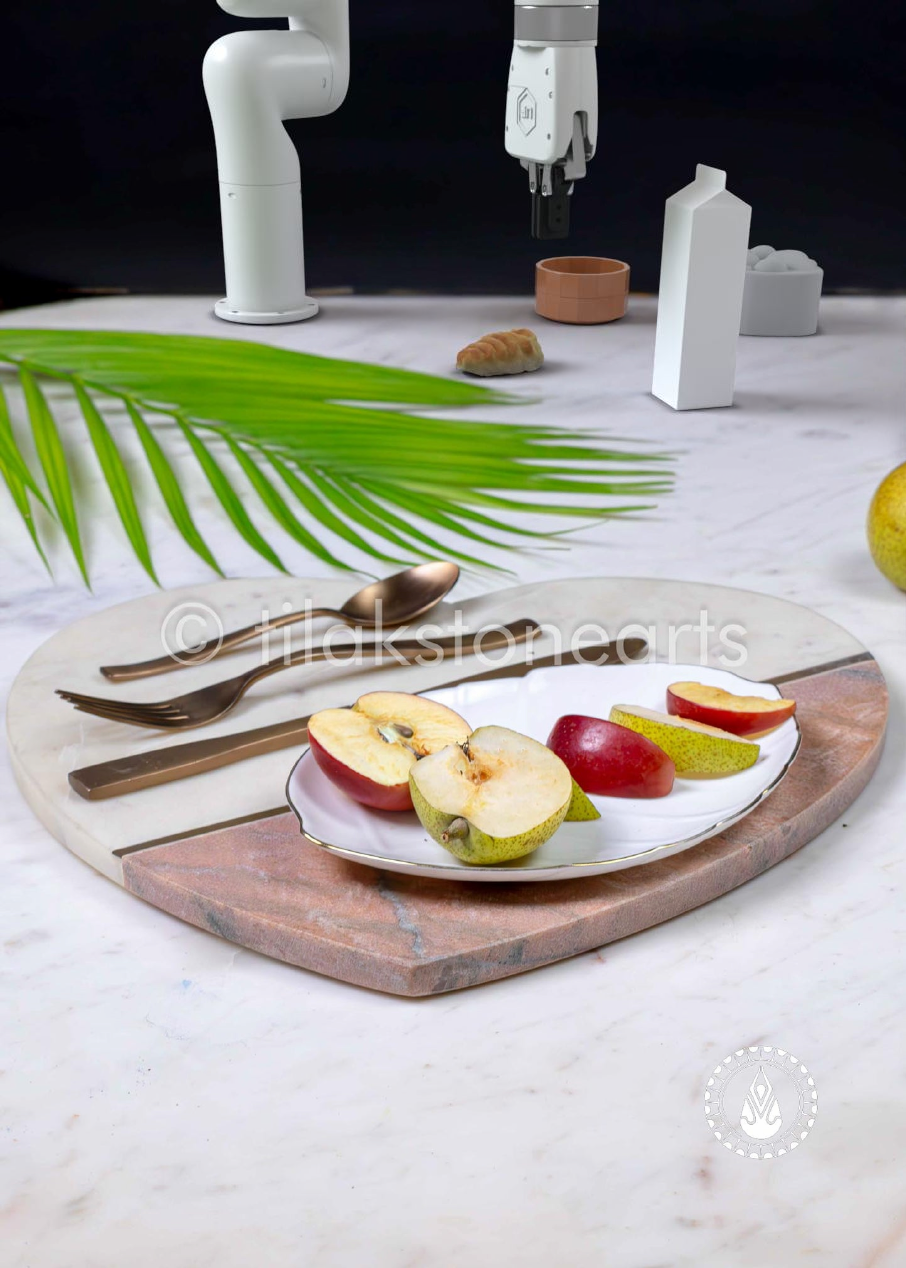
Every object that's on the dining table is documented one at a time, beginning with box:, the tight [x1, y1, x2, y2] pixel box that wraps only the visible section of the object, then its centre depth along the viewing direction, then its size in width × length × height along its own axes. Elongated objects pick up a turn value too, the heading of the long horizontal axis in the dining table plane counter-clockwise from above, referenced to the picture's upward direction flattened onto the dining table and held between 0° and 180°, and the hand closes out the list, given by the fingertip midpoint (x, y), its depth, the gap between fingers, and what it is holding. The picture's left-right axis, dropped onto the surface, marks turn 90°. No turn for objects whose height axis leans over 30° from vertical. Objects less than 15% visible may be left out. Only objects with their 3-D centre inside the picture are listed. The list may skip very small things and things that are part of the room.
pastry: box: [455, 327, 545, 377], centre depth 144 cm, size 9×7×4 cm
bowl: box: [533, 256, 631, 325], centre depth 166 cm, size 11×11×6 cm
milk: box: [651, 163, 753, 411], centre depth 130 cm, size 6×6×22 cm
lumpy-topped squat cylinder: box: [739, 244, 824, 337], centre depth 161 cm, size 10×13×9 cm
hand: (549, 236), depth 130 cm, fingers closed
